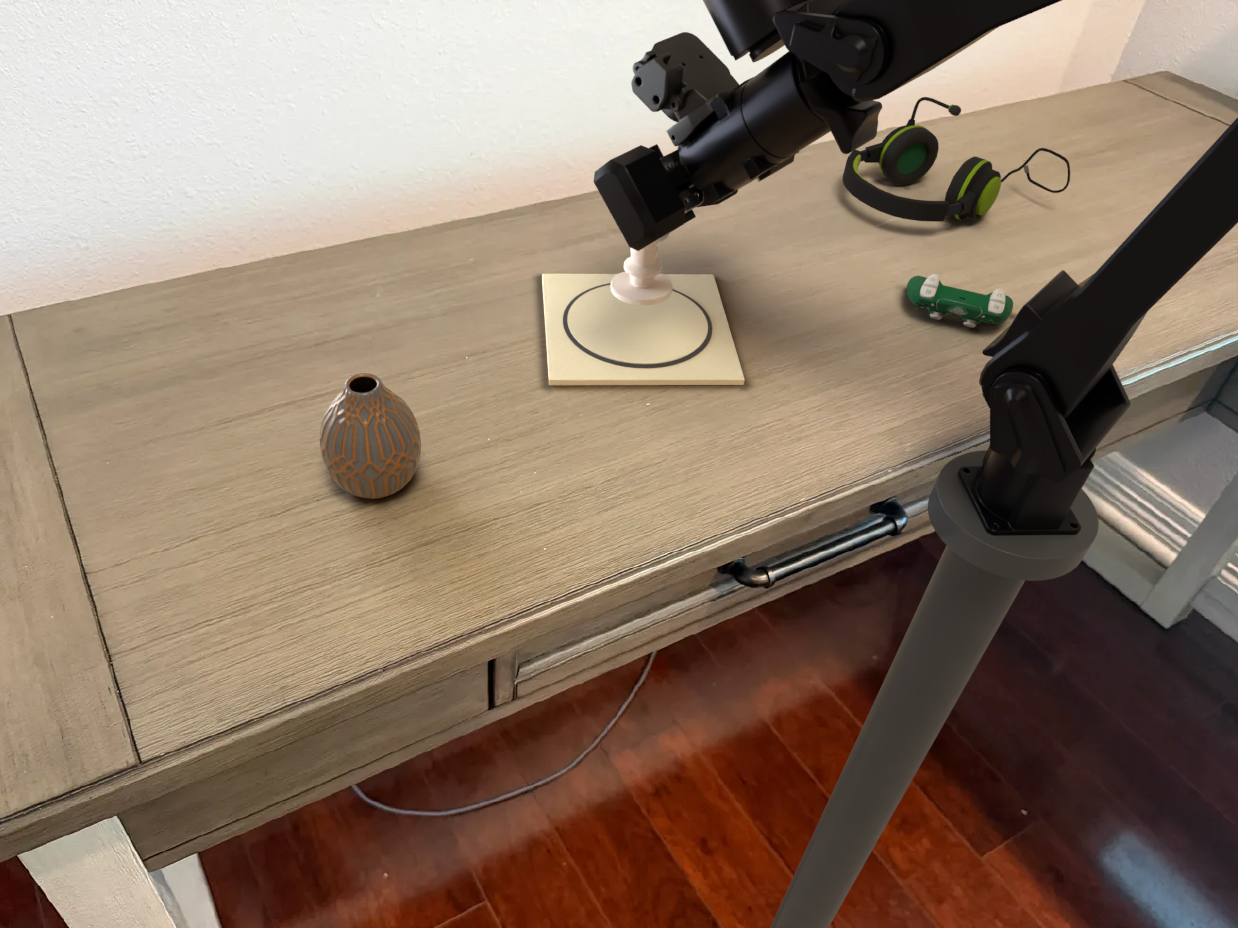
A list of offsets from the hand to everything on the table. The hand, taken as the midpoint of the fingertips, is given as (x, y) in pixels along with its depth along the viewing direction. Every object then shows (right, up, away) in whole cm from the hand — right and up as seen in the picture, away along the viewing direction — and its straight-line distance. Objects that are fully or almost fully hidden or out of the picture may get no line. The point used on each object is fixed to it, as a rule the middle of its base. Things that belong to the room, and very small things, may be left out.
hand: (632, 212), depth 79 cm
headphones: (+34, +8, +25) cm, 42 cm away
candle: (+1, -6, +4) cm, 7 cm away
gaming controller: (+30, -7, +10) cm, 32 cm away
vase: (-19, -22, -8) cm, 30 cm away
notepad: (+1, -8, +6) cm, 10 cm away
